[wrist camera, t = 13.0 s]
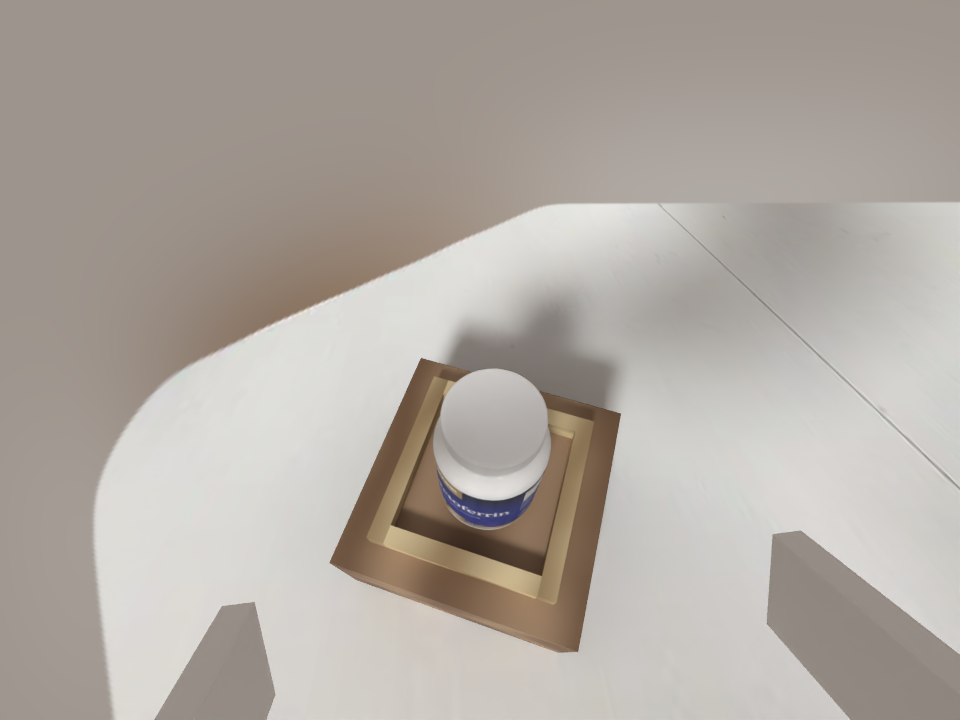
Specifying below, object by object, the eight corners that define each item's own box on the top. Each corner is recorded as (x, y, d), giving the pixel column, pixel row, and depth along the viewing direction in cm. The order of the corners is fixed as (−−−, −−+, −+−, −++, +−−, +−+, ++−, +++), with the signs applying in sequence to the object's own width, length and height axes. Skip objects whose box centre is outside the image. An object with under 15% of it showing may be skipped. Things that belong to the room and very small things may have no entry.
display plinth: (597, 451, 38) (625, 405, 31) (558, 652, 31) (582, 651, 24) (429, 402, 40) (419, 348, 33) (356, 579, 33) (323, 559, 26)
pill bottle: (423, 506, 28) (402, 443, 20) (465, 424, 31) (462, 338, 23) (513, 549, 27) (531, 502, 19) (549, 461, 30) (579, 385, 21)
